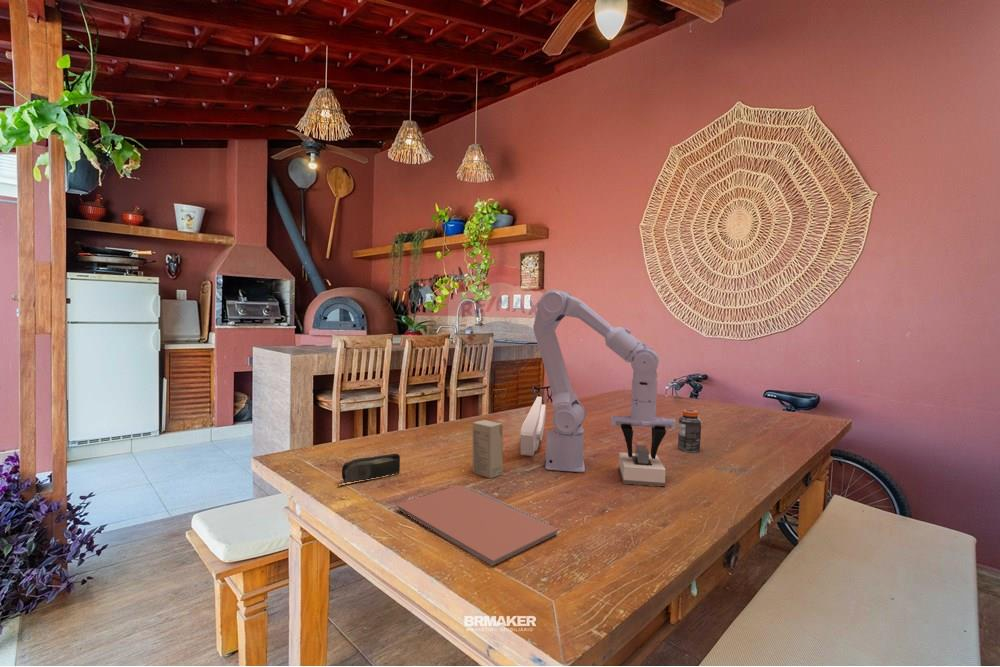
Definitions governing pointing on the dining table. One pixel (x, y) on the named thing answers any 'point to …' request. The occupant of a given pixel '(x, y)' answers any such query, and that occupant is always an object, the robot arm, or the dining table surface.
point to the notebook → (479, 522)
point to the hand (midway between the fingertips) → (641, 456)
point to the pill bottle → (689, 431)
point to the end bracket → (641, 455)
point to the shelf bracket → (533, 428)
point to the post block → (641, 471)
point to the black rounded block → (370, 467)
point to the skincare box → (487, 448)
